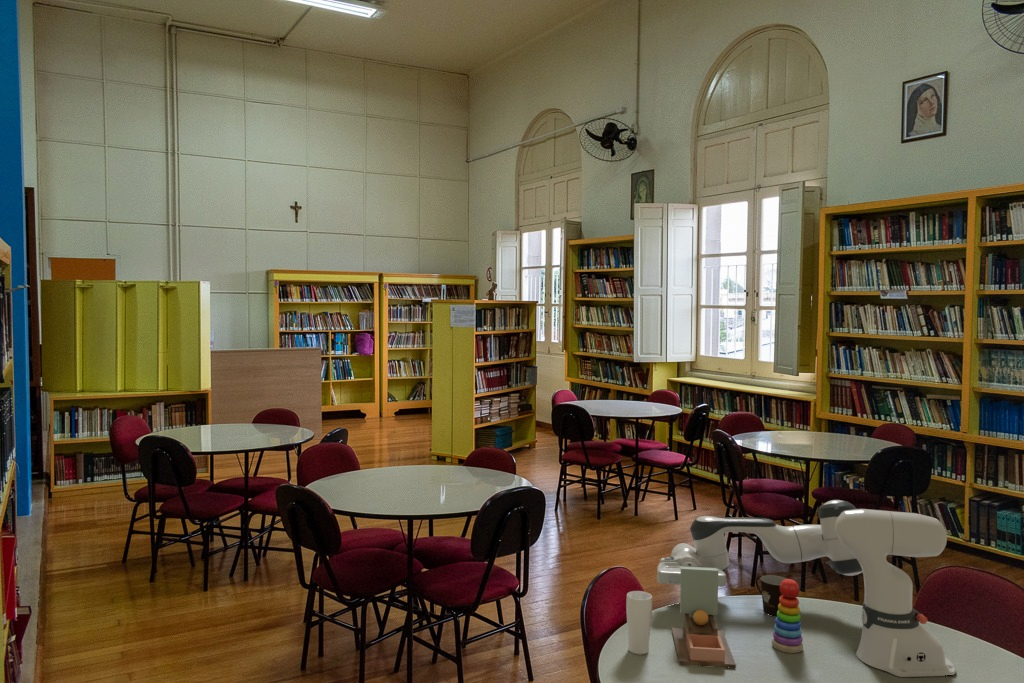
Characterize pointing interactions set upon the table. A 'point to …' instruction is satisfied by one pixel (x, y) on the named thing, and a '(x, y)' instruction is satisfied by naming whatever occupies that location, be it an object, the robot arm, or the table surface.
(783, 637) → the stacking toy
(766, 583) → the coffee mug
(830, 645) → the table surface
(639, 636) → the drinking glass
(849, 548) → the robot arm
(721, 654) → the terracotta cup
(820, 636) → the table surface
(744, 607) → the table surface
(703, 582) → the pale green panel
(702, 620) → the orange rubber ball
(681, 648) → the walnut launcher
